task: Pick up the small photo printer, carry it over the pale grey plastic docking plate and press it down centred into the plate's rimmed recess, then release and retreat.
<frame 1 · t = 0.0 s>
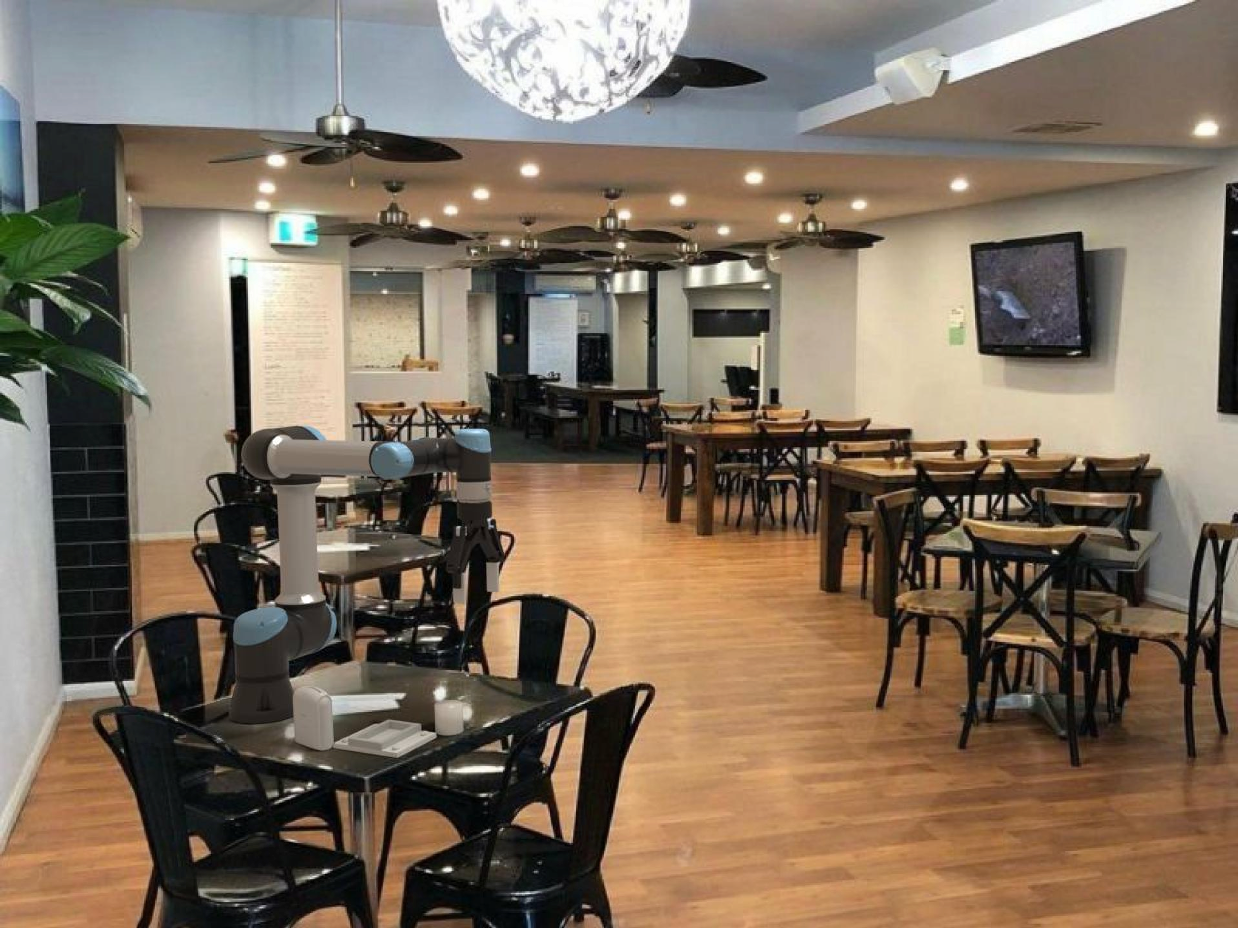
hand: (476, 597, 260), 28 cm above the table, fingers open, 13 cm apart
white rounded cylinder: (449, 730, 257), on the table
dock plate: (385, 742, 250), on the table
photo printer: (314, 745, 249), on the table
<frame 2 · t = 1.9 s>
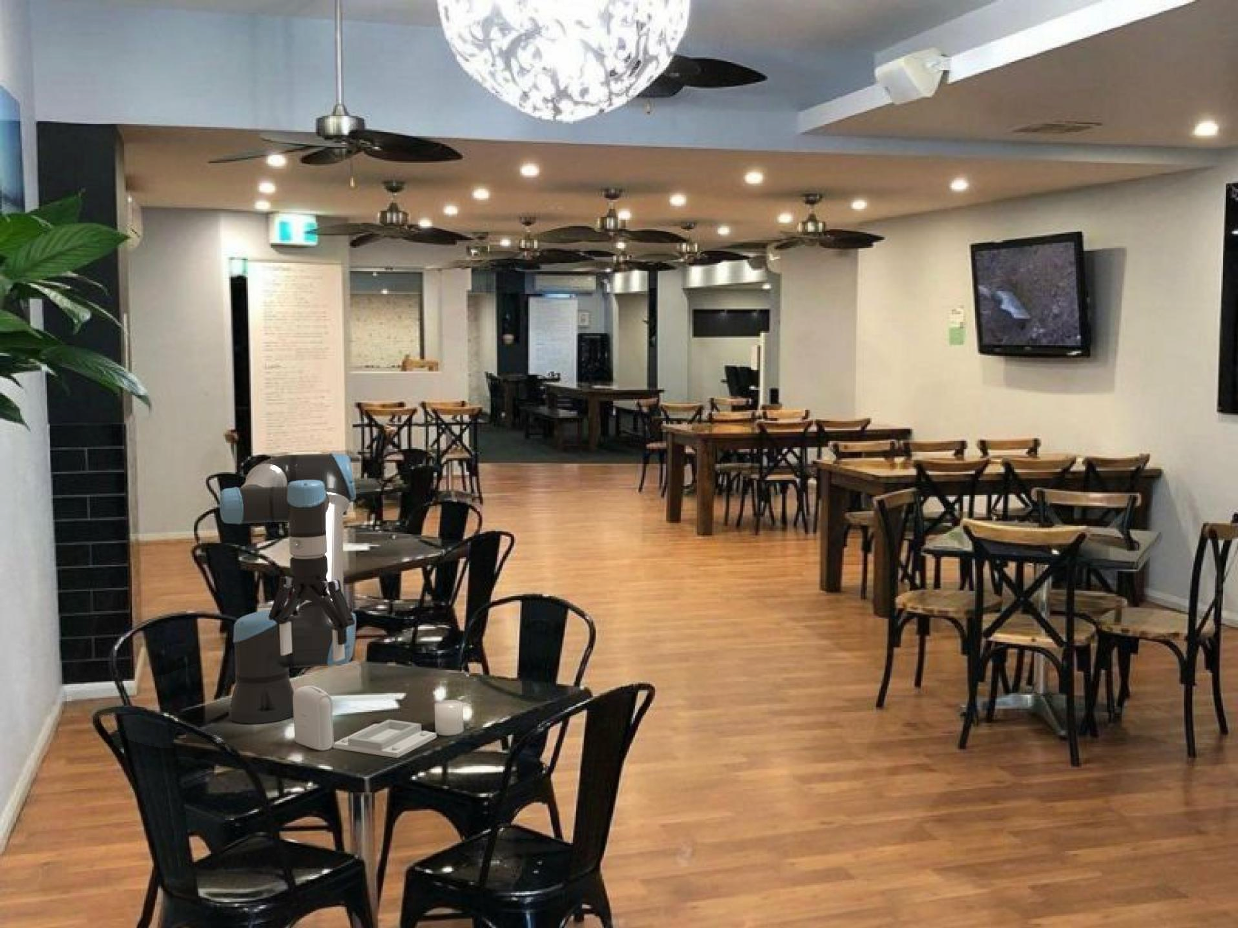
hand: (312, 656, 247), 19 cm above the table, fingers open, 13 cm apart
nothing on the table moved.
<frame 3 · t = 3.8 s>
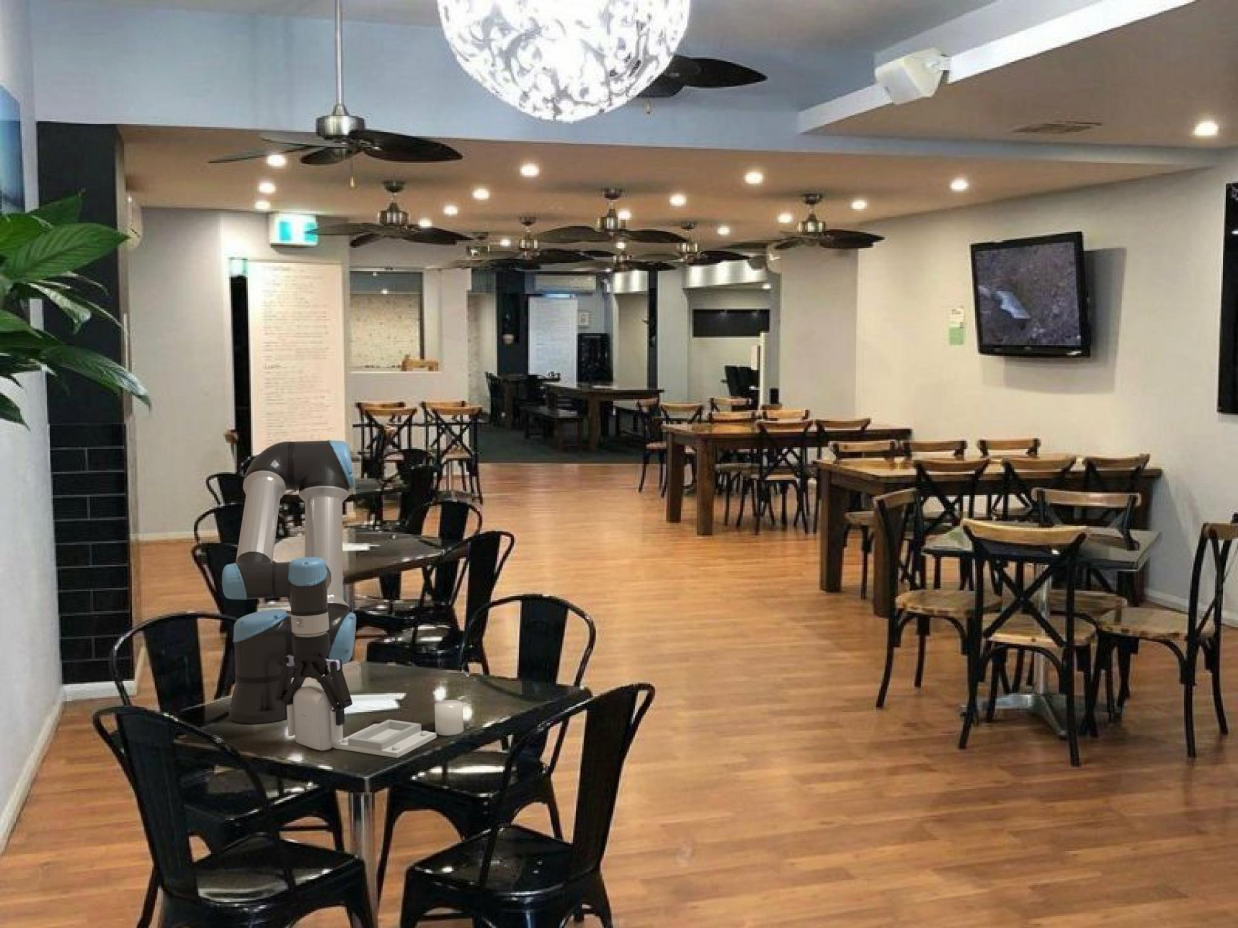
hand: (315, 737, 248), 2 cm above the table, fingers open, 11 cm apart
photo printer: (314, 745, 249), on the table, touching dock plate, gripper
everything else where it was.
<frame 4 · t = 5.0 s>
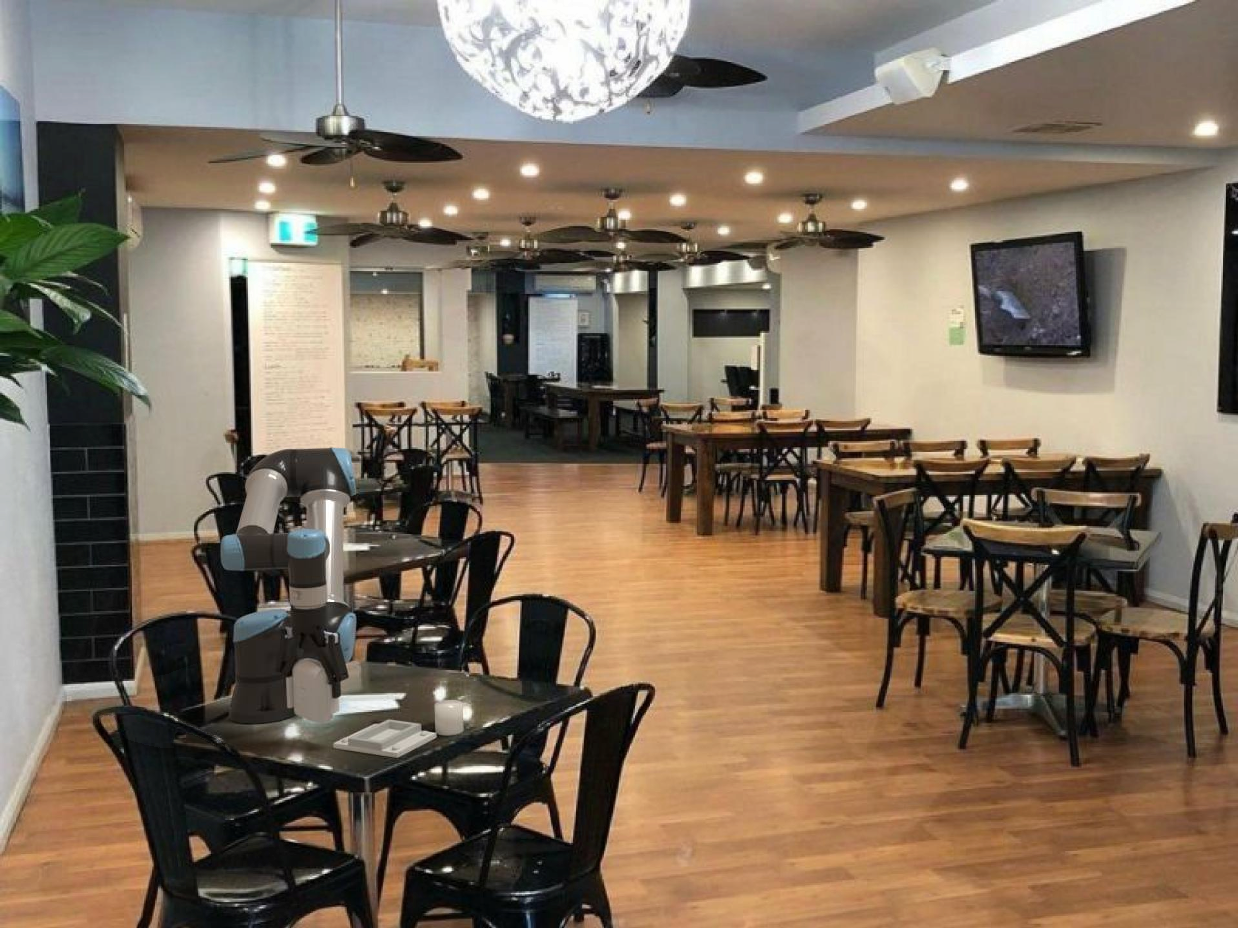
hand: (313, 709, 249), 7 cm above the table, fingers closed on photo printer, 10 cm apart
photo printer: (313, 718, 249), point 5 cm above the table, touching gripper
everything else where it was.
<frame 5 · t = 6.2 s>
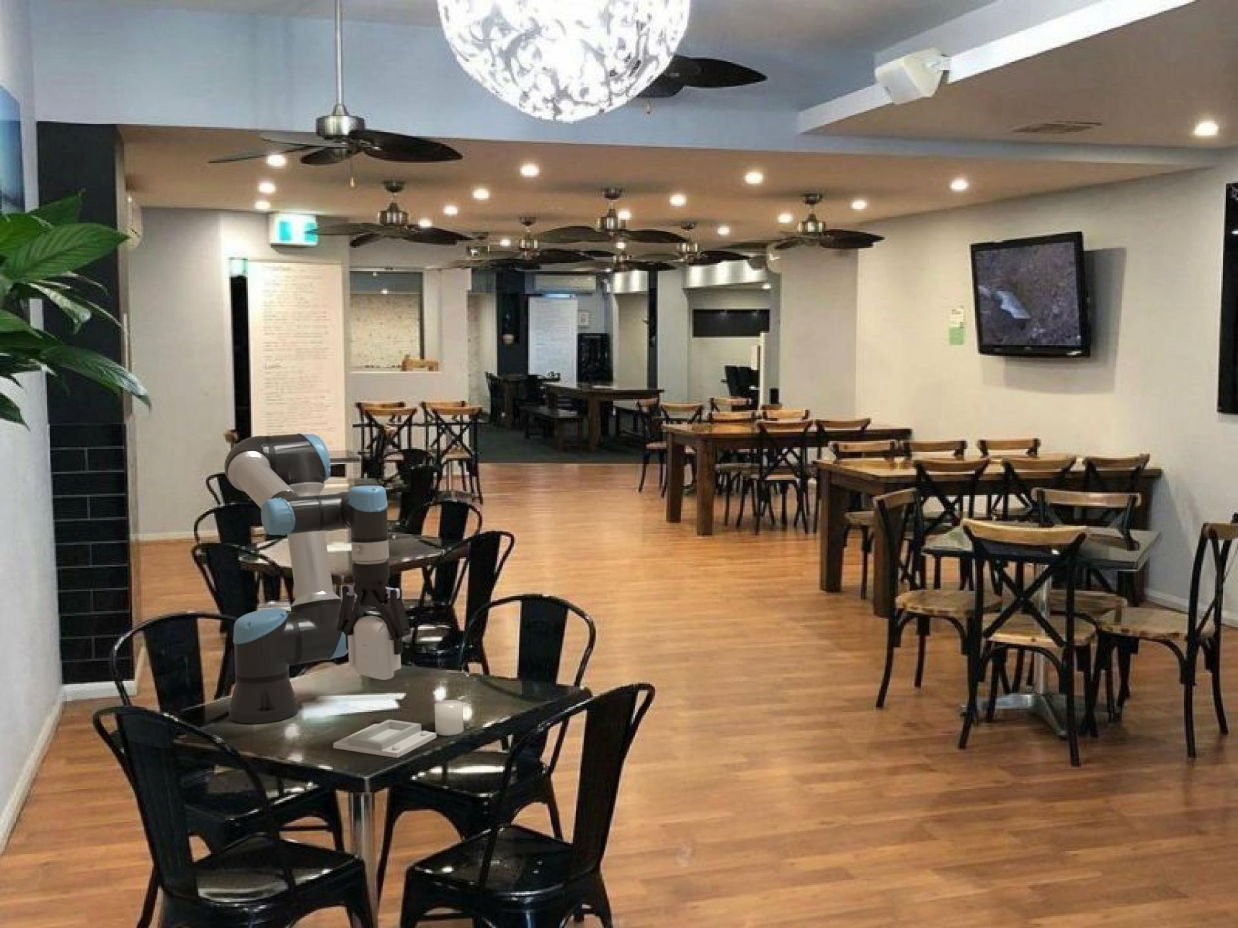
hand: (374, 667, 247), 16 cm above the table, fingers closed on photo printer, 10 cm apart
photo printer: (374, 676, 247), point 14 cm above the table, touching gripper
everything else where it was.
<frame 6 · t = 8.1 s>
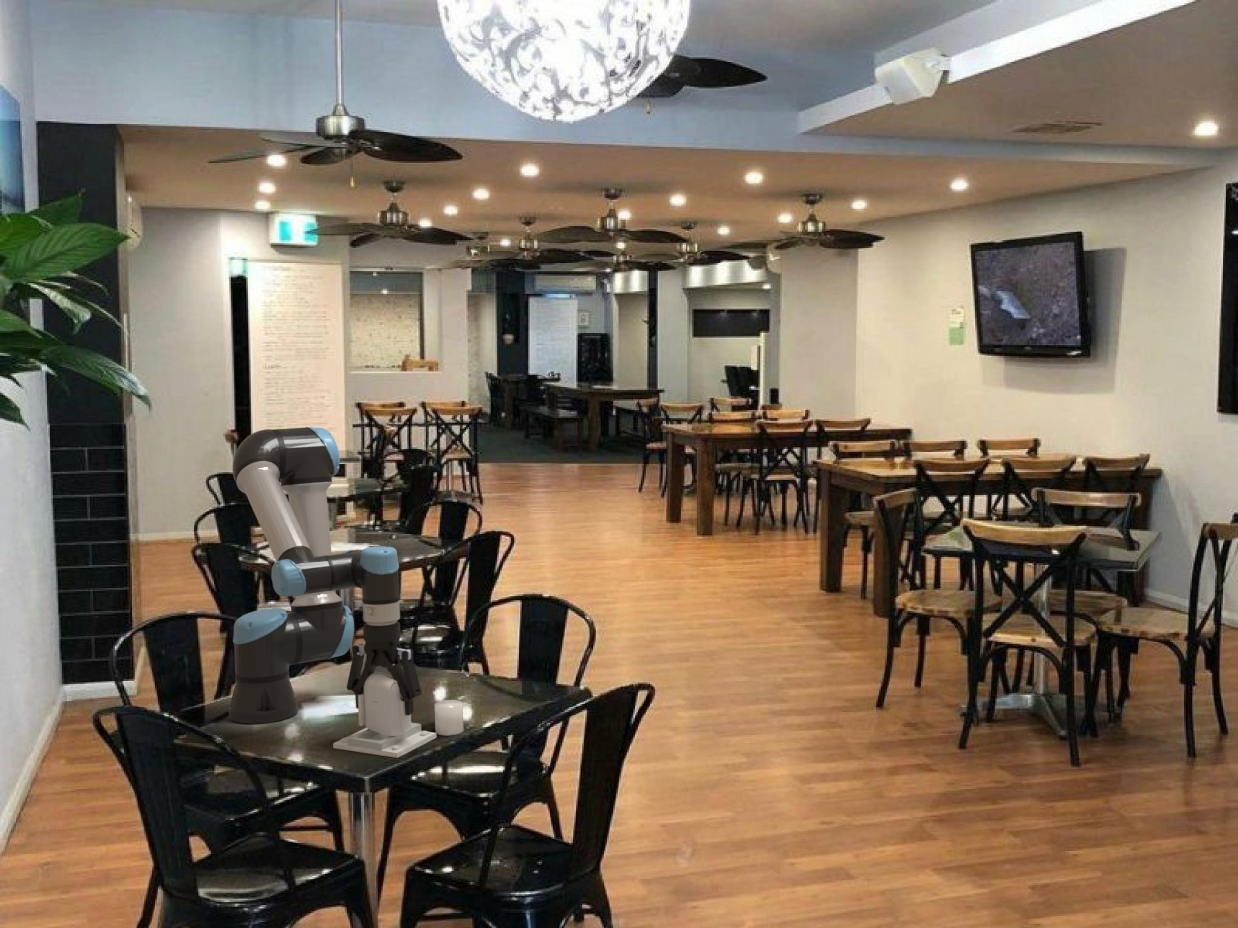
hand: (385, 726, 249), 3 cm above the table, fingers closed on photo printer, 10 cm apart
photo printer: (385, 732, 249), point 2 cm above the table, touching dock plate, gripper
everything else where it was.
when the fingers open (3 cm above the table, at t = 8.3 s): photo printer stays where it is, resting on dock plate.
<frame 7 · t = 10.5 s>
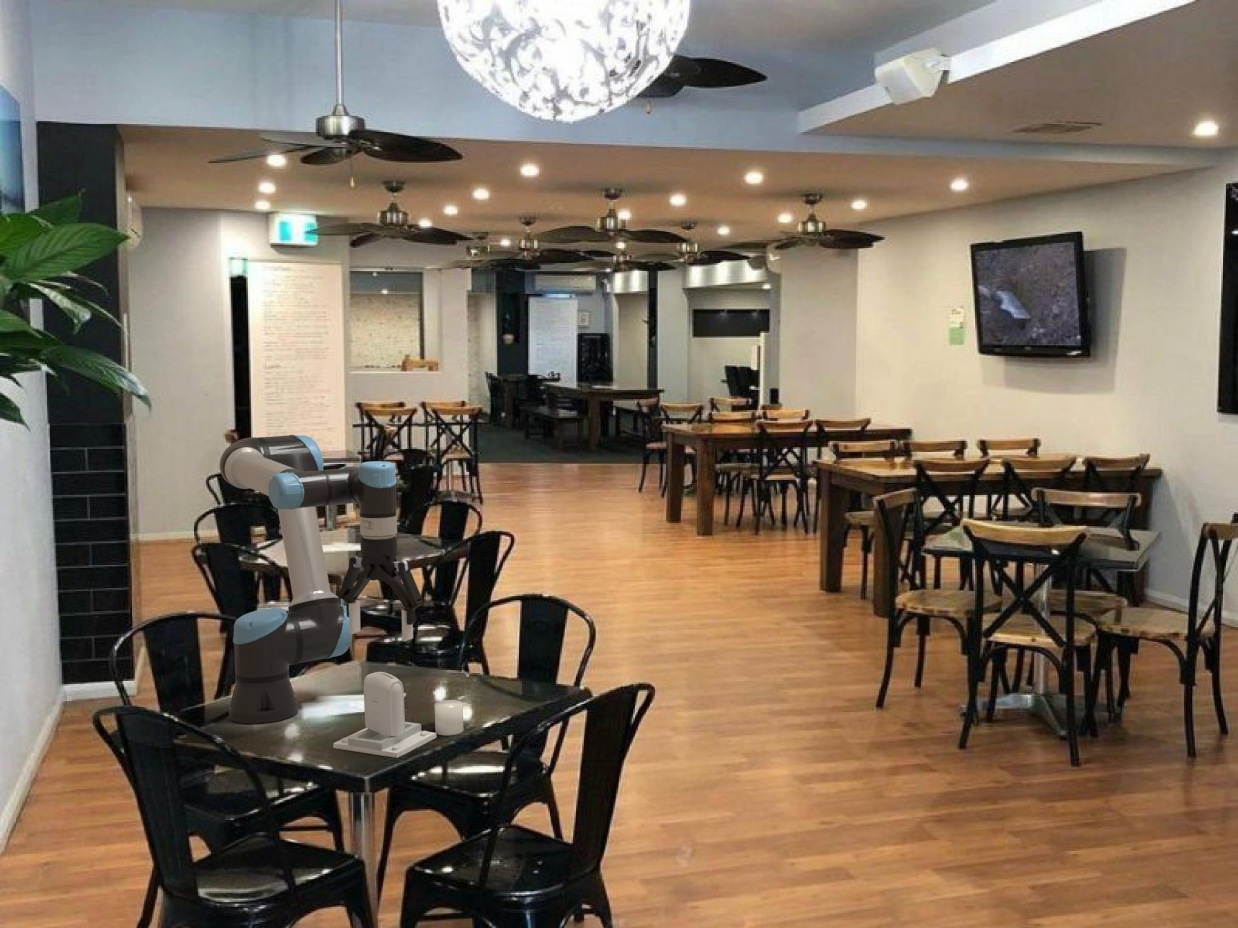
hand: (381, 636, 250), 22 cm above the table, fingers open, 13 cm apart
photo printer: (385, 732, 249), point 2 cm above the table, touching dock plate
everything else where it was.
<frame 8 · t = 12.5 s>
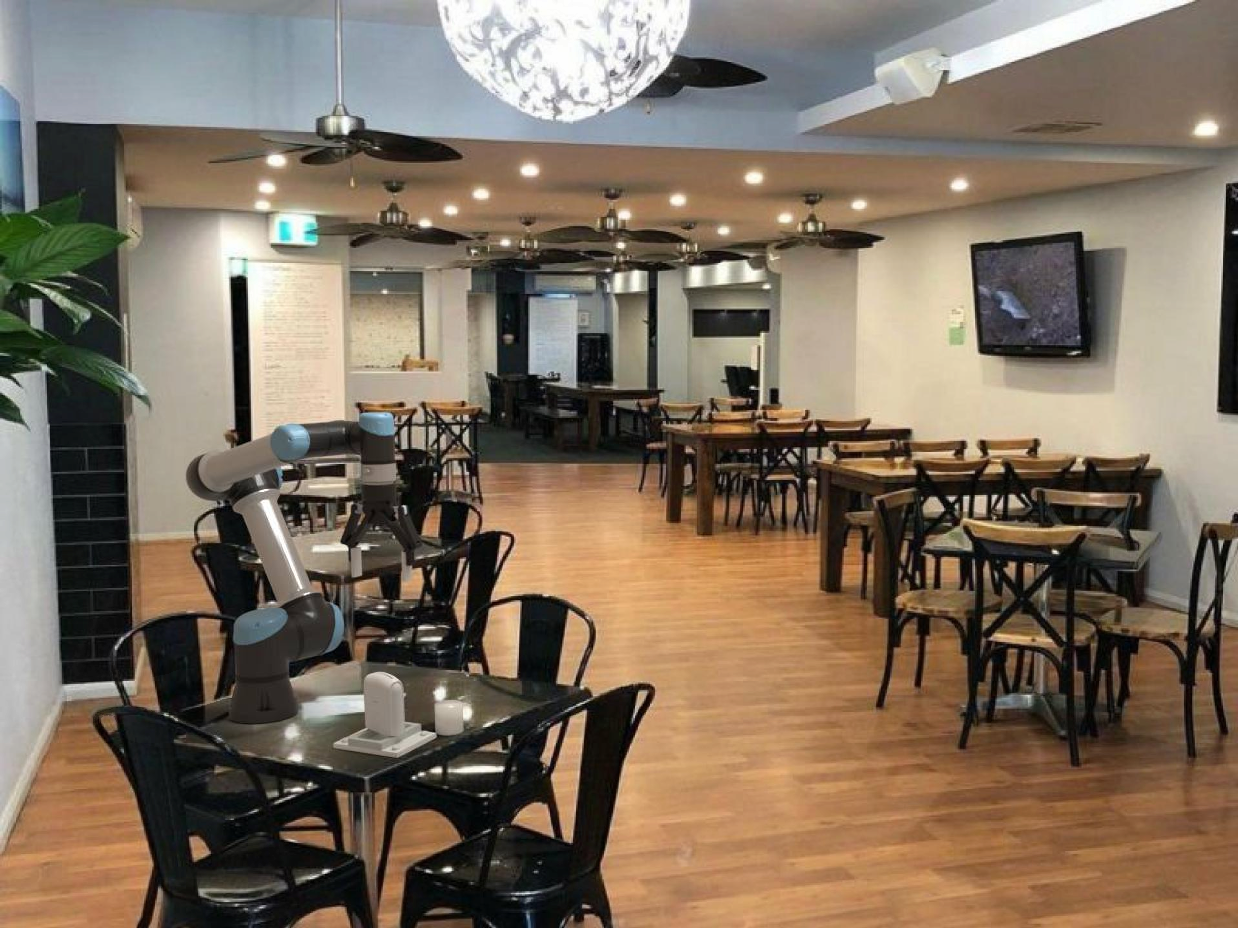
hand: (381, 578, 264), 32 cm above the table, fingers open, 13 cm apart
nothing on the table moved.
at the end: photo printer 0.2 cm from the dock plate (horizontally); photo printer tilted 0°; the gripper is holding nothing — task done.
